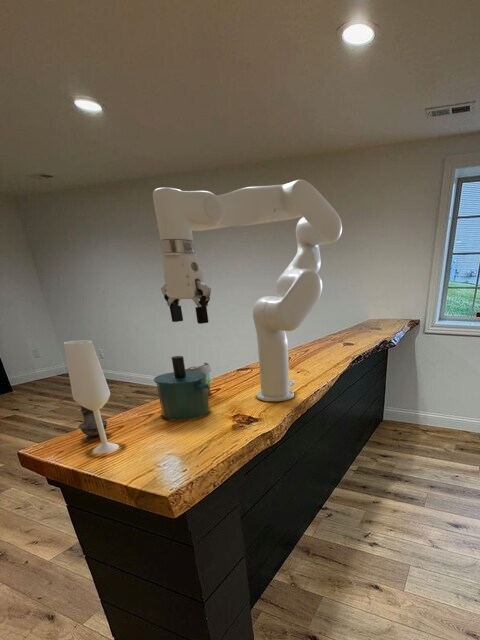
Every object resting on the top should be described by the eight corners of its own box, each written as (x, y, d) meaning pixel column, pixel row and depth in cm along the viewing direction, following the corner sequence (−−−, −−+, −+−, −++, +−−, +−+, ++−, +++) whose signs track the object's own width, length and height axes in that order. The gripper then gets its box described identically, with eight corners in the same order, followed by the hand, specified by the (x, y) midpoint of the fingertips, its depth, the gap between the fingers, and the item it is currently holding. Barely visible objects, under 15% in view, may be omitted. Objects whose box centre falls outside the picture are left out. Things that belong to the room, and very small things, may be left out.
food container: (193, 402, 111) (188, 371, 107) (180, 399, 114) (175, 368, 110) (221, 392, 121) (218, 364, 117) (209, 390, 124) (205, 362, 120)
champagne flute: (122, 442, 83) (97, 338, 73) (124, 452, 77) (98, 342, 68) (88, 448, 79) (58, 340, 70) (89, 459, 74) (56, 345, 65)
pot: (182, 403, 110) (177, 370, 106) (225, 412, 102) (221, 377, 98) (147, 414, 100) (140, 379, 96) (191, 426, 92) (185, 388, 88)
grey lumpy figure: (81, 444, 81) (66, 395, 76) (83, 435, 86) (70, 388, 81) (110, 440, 84) (97, 392, 79) (111, 431, 88) (99, 385, 84)
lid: (183, 372, 106) (180, 351, 103) (216, 378, 100) (214, 355, 97) (143, 382, 95) (138, 358, 92) (177, 389, 89) (173, 364, 86)
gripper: (215, 249, 84) (224, 322, 91) (168, 252, 92) (179, 319, 99) (190, 246, 78) (202, 325, 85) (142, 250, 86) (156, 322, 93)
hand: (190, 322), depth 92 cm, fingers open, 9 cm apart
